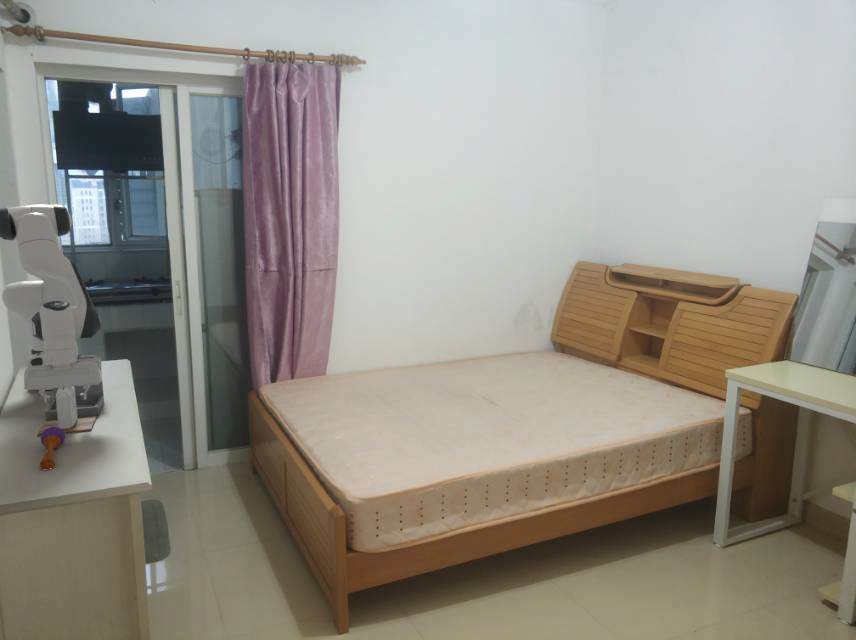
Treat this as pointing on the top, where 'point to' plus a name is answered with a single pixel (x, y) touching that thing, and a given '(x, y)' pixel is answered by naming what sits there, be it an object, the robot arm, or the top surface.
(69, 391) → the photo printer
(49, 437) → the maraca
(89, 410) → the equipment case
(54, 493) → the top surface
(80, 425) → the walnut board
